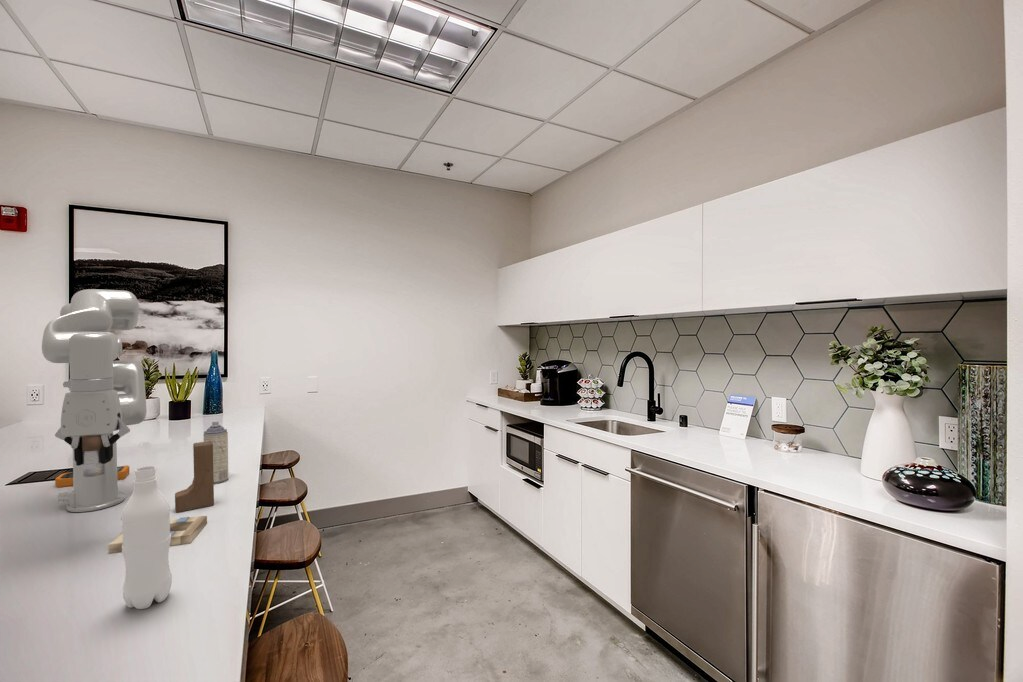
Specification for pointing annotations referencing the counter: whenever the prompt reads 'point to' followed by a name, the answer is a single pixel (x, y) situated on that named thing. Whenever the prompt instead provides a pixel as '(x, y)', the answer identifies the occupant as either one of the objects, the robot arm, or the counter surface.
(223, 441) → the aerosol can
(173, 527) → the board
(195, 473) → the wooden block
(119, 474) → the multimeter
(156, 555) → the water bottle
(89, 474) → the two-tone cylinder
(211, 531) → the counter surface
